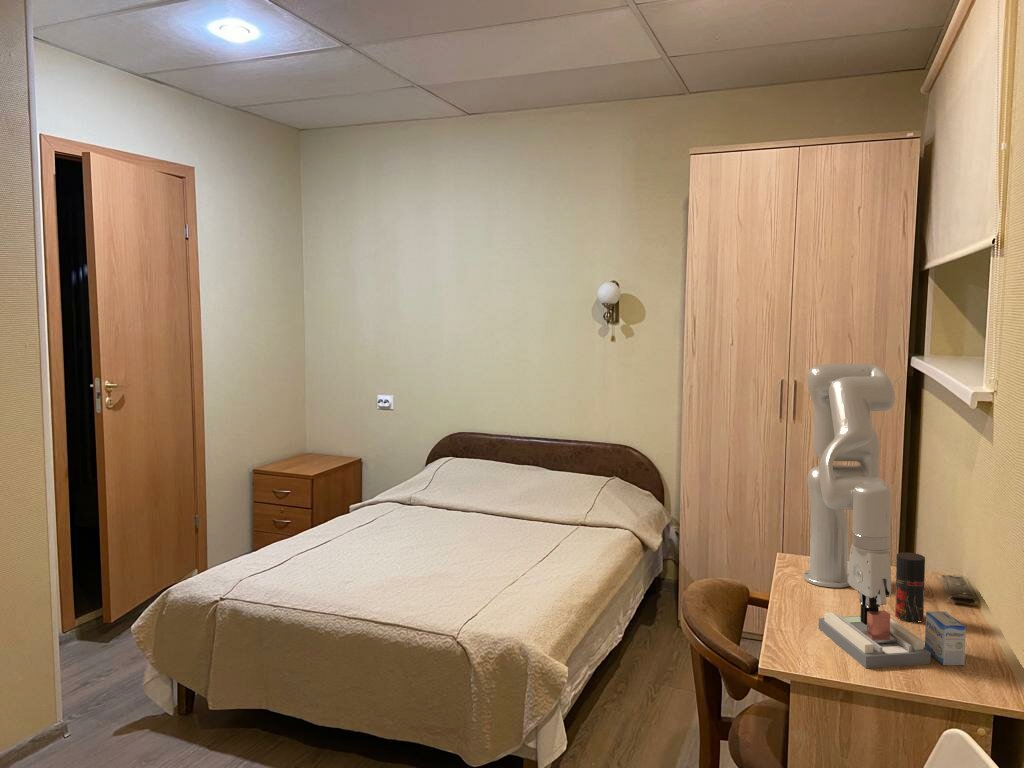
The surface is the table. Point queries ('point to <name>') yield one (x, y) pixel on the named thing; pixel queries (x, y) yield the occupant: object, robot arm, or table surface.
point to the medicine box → (945, 638)
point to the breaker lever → (879, 627)
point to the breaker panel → (874, 643)
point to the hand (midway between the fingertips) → (869, 622)
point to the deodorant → (910, 587)
